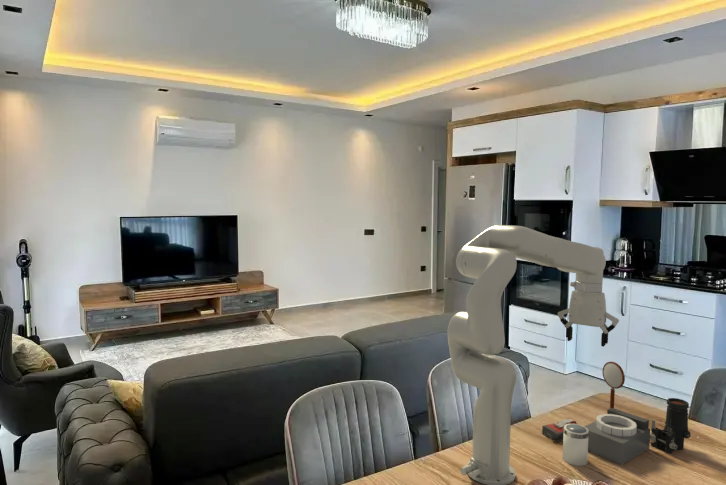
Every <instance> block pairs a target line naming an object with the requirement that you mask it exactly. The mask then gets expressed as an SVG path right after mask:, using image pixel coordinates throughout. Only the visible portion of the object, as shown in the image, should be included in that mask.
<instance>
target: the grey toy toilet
mask: <svg viewBox="0 0 726 485" xmlns="http://www.w3.org/2000/svg"><path fill="white" fill-rule="evenodd" d="M606 412H607V413H602V414H599V415H597V416H596V417H595V418H596V420H595V421H593V422H591V423H588V424H587V425H585V426H584V425H583V426H584V427H586V428H587V429H588V430H589V437H588V452H590V453H593V454H596V455H597V456H600V457H602V458H605V459H606V460H610V461H612V462H614V463H616V464H618V465H621V466H622V465H624V464H626V463H627V462H630V461H631V460H632V459H634V458H636V457H637V456H639V455H640V454H643V453H644V452H646V451H649V449H650V446H651V442H650V441H651V440H650V434H651V427H650V426H649V425H650V420H649V419H647V418H644V417H640V416H638V415H635V414H632V413H629V412H626V411H623V410H621V409H617V408H615V407H614V408H610V407H609V408H608V409H607V410H606Z"/></svg>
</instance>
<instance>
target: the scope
mask: <svg viewBox="0 0 726 485" xmlns="http://www.w3.org/2000/svg"><path fill="white" fill-rule="evenodd" d="M666 404H667V406H666V407H667V408H666V412H665V413H666V414H665V422H664V427H663V429H661V428H658V427H656V419H651V426H650V441H651V442H650V446H651V447H653V448H655V449H658V448H659V450H661V451H664V452H665V454H667V455H670V454H673V452H675V451H683V450H684V448H685V439H689V438H691V436H692V435H691V432H690V430H689V410H688V409H689V407H690V403H689V402H688V401H686V400H684V399H681V398H677V397H676V398H675V397H670V398H667V399H666Z"/></svg>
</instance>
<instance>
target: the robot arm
mask: <svg viewBox="0 0 726 485" xmlns="http://www.w3.org/2000/svg"><path fill="white" fill-rule="evenodd" d="M517 259H520V260H523V261H527V262H531V263H532V264H533V263H535V264H537V265H540V266H545V267H549V268H550V267H551V268H556V269H557V270H558V271H561V272H565V273H573V274H575V280H574V281H573V282H572V281H571V282H570V283H569V284H570V285H569V286H570V287H573V288H574V290H572V291H571V294H570V299H569V304H568V305H569V306H568V308H566V309H562V310H561V311H558V312H557V316H558V318H559V320H560V323H562V325H563V326H564V328H565V337H566V339H567V342H571V341H572V340H573V326H572V325H580V326H587V327H592V328H593V327H594V328H595V327H596V328H600V330H601V331H602V333H601V336H600V337H601V340H600V345H601V347H605V346H606V345H608V342H609V333H611V331H613V330H614V329H615V328H616V326H617V325H619V324H618V323H619V322H620V320H619V318H617V317H616V316H613V315H612V314H610V313H608V312H607V303H606V295H605V292H603V282H604V280H603V279H604V270H605V269H606V268H605V267H606V263H607V262H606V261H607V260H606V256H605V252H604V249H602V248H600V247H596V246H595V247H594V246H591V245H588V244H584V243H581V242H580V243H579V242H575V241H572V240H568V239H564V238H561V237H557V236H556V237H555V236H554V235H553V236H552V235H550V234H549V235H548V234H546V233H543V232H540V231H537V230H535V229H532V228H529V227H527V226H522V225H512V224H511V225H510V224H509V225H508V224H495V225H492V226H490V227H488V228H487V229H485V230H484V231H482V232H481V233H480V234H478V235H477V236H475V237H474V238H473V239H472V240H470V241H468V242H467V243H466V244H465V245H464V246H463V247H461V249H460V250H459V251H458V253H457V255H456V259H455V266H456V269H457V270H458V272H459V273H460V274H461V275H462V276H464V277H465V278H466V277H467V278H471V279H476V280H475V281H474V283H473V285H472V286H470V289H469V291H468V293H467V295H466V301H465V303H466V304H465V305H466V306H465V307H466V311H459V312H456V313H455V314H453V316H452V317H450V320H449V323H448V326H447V330H446V334H447V343H448V349H449V350H448V351H449V355H450V362H451V367H452V370H453V373H454V376H455V377H456V378H457V379H458V380H459V381H461V382H463V383H465V384H467V385H470V386H472V387H475V388H477V389H478V390H480V394H479V395H478V397H477V398H476V400H475V402H474V405H473V411H472V413H473V419H472V420H473V421H472V423H473V426H472V428H473V429H472V457H469V461H468V462H467V463H466V465H464V466H462V467H460V473H461V475H463V476H466V475H468V476H469V477H470V478H471V479H472V480H473V481H475V482H478V483H480V484H483V485H509V484H511V483H513V482H514V480H515V479H516V470H515V468H514V467H513V466H512V465H511V464H510V462H511V461H510V456H511V424H512V423H511V422H512V420H511V419H512V418H511V417H512V401H513V394H514V390H515V386H516V383H517V382H516V381H517V372H516V368H515V367H514V365H513V364H512V363H511V362H510V361H509V360H506V359H505V358H503V357H501V356H498V354H500V353H501V352H502V351H503V350H504V347H505V343H506V341H505V340H506V338H505V328H504V322H503V313H502V305H501V304H502V302H501V301H502V299H501V298H502V296H503V292H504V290H505V288H507V285H508V284H509V283H510V281H511V280H512V278H513V277H514V275H515V273H516V270H517V264H518V263H517V262H518V261H517ZM567 314H568V317H567V318H568V320H567V319H566V317H565V315H567ZM607 319H608V320H609V321H611V324H610V325H609V326H608V325H607V324H606V323H607Z"/></svg>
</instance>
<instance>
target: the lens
mask: <svg viewBox="0 0 726 485" xmlns="http://www.w3.org/2000/svg"><path fill="white" fill-rule="evenodd" d="M588 437H589V430H588V429H587V428H586V427H584V425H581V424H579V425H578V423H577V424H566V425H564V434H563V440H562V460H563V461H564V462H565V463H567V464H569V465H572V466H578V467H583V466H586V465H587V464H588V461H589V460H588V459H589V458H588V457H589V451H588Z"/></svg>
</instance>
